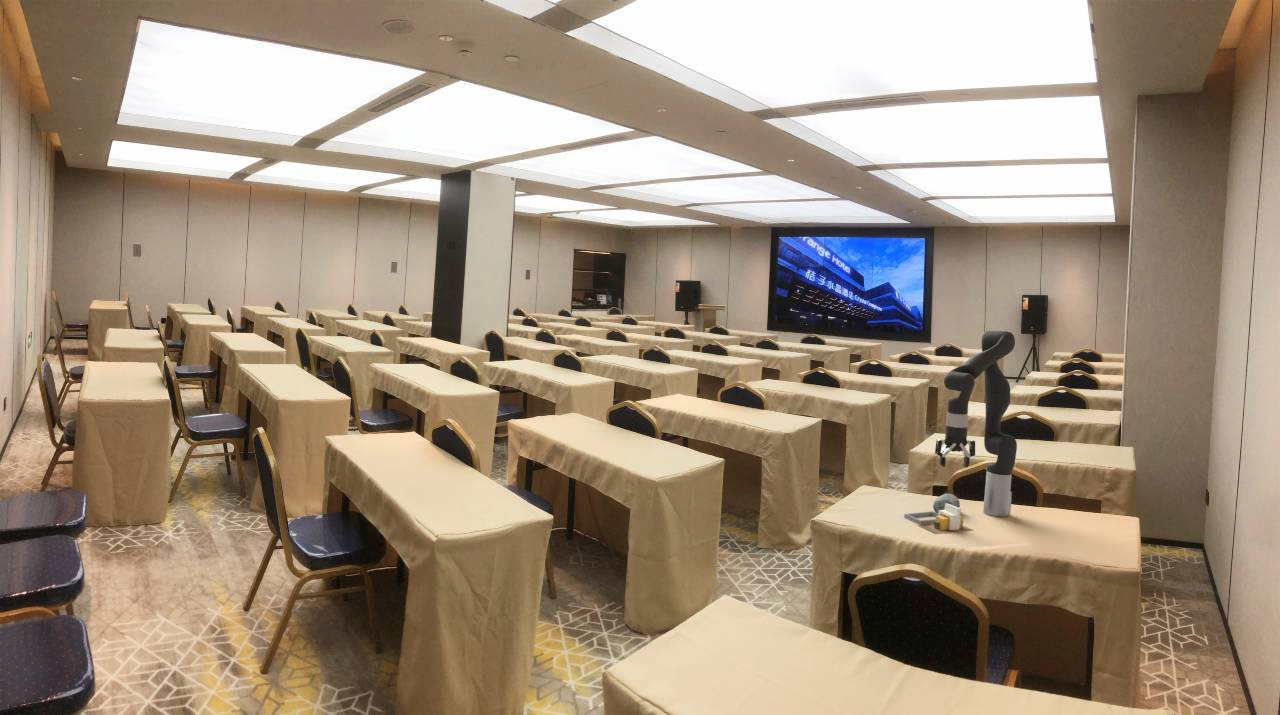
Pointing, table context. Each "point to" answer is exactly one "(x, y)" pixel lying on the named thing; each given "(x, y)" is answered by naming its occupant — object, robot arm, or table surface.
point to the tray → (912, 516)
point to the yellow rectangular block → (945, 522)
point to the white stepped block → (951, 516)
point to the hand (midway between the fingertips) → (954, 466)
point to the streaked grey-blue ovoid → (943, 499)
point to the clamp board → (935, 529)
